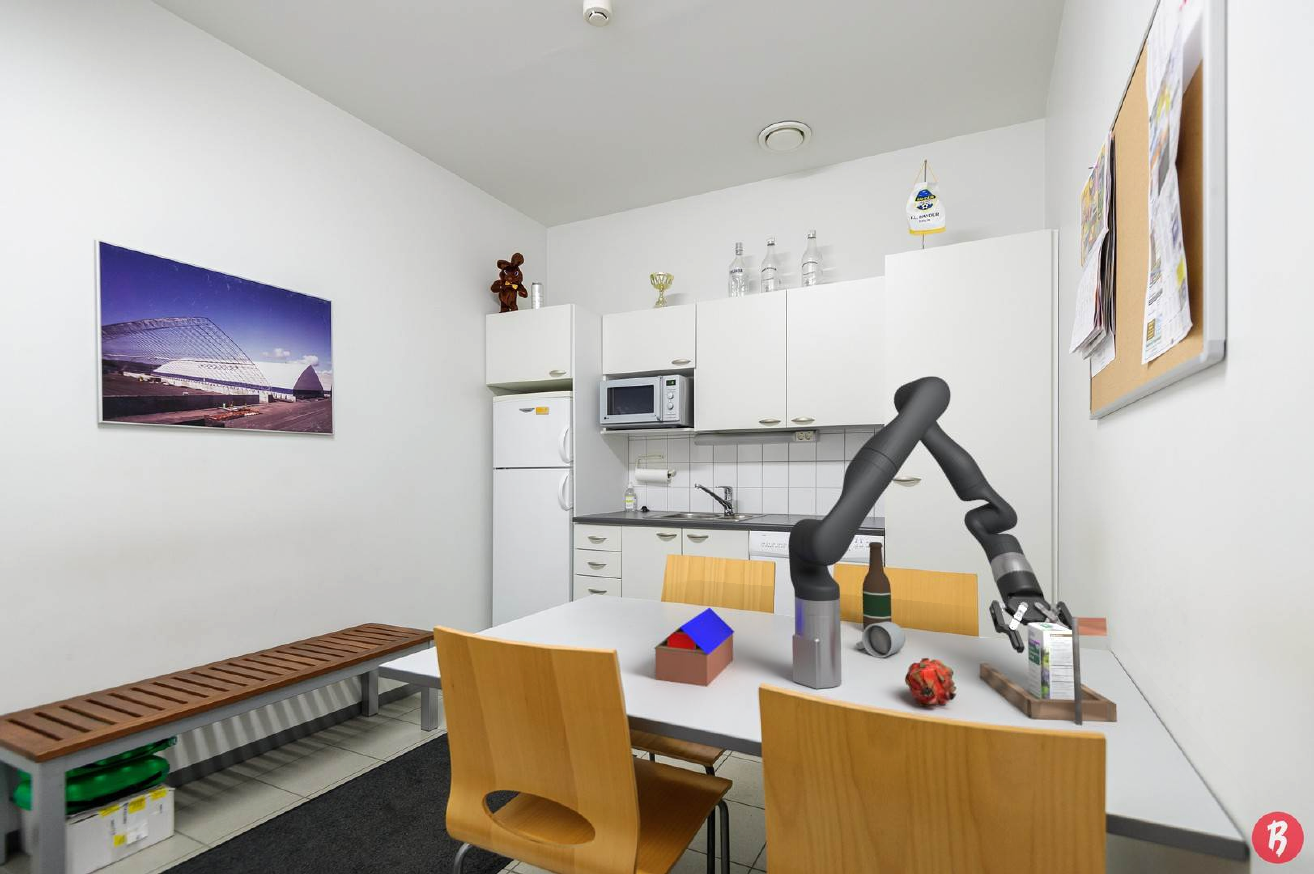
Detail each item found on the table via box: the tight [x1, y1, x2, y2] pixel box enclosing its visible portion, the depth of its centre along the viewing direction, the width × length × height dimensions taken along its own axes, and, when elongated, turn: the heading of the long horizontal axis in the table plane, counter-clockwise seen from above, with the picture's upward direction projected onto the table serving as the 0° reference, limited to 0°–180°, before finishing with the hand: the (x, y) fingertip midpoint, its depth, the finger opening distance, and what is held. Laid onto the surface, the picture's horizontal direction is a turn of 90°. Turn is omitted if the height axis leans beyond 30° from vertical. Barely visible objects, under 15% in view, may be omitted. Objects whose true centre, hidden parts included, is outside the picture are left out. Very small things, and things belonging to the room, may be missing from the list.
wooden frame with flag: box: [979, 616, 1118, 726], centre depth 120 cm, size 24×14×18 cm, turn 174°
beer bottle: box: [862, 541, 893, 631], centre depth 170 cm, size 8×8×24 cm
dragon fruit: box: [904, 657, 957, 708], centre depth 118 cm, size 8×8×12 cm
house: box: [654, 607, 735, 687], centre depth 139 cm, size 12×20×12 cm, turn 157°
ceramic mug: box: [856, 622, 906, 659], centre depth 151 cm, size 11×8×8 cm
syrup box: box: [1027, 623, 1074, 700], centre depth 117 cm, size 6×6×14 cm
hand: (1045, 651), depth 119 cm, fingers open, 8 cm apart
